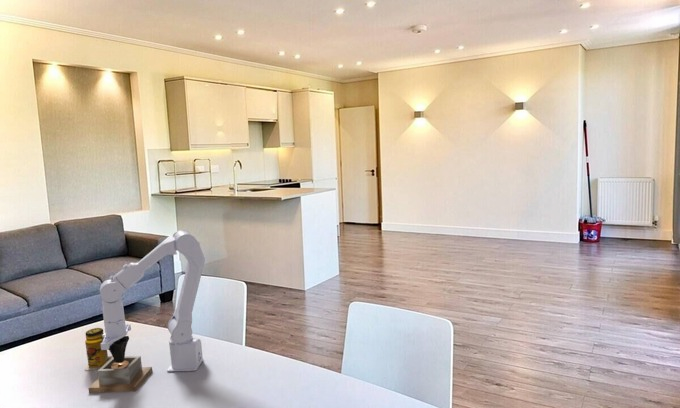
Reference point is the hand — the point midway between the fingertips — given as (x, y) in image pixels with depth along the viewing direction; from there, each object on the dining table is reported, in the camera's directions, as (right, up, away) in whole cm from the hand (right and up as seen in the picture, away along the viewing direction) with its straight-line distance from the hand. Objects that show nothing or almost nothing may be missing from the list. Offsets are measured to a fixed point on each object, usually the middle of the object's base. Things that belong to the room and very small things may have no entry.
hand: (119, 361), depth 146 cm
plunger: (0, -4, +1) cm, 5 cm away
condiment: (-13, -5, +14) cm, 20 cm away
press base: (0, -6, +1) cm, 6 cm away
